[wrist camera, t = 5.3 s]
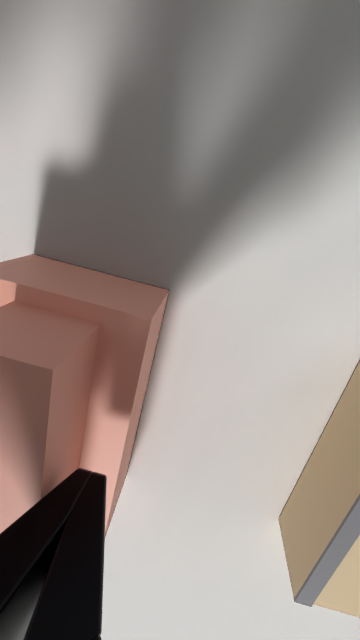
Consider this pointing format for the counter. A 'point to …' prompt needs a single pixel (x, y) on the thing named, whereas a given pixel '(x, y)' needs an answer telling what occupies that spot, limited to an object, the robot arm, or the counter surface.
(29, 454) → the pink stepped block
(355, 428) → the beige slotted tile
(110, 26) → the counter surface
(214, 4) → the counter surface
